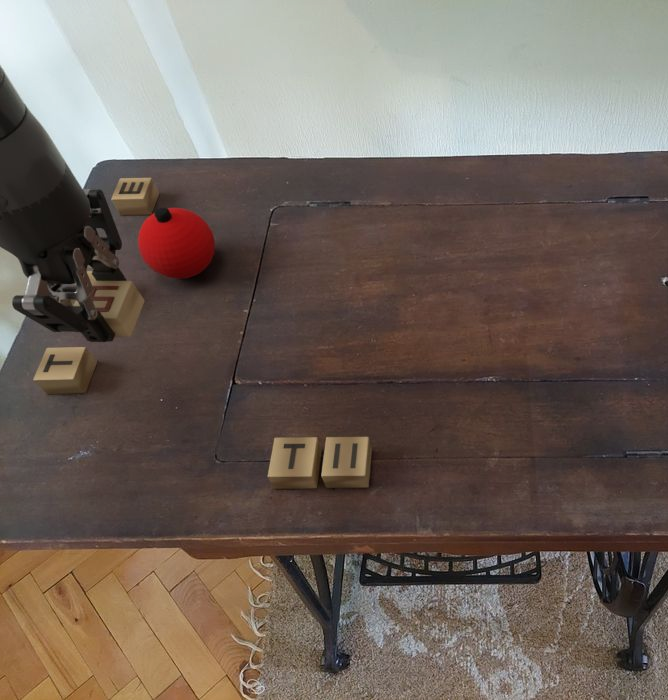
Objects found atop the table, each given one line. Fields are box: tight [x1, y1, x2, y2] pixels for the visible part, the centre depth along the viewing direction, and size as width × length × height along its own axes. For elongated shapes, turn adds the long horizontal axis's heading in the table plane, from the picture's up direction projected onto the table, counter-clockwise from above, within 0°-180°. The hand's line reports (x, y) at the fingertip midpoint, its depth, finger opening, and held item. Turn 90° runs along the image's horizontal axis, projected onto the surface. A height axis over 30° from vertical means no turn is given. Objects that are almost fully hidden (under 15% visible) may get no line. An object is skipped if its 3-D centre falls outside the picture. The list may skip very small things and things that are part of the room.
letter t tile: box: [32, 346, 98, 395], centre depth 75 cm, size 4×4×3 cm
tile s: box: [73, 280, 145, 339], centre depth 61 cm, size 4×4×3 cm
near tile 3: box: [321, 436, 373, 489], centre depth 69 cm, size 4×4×3 cm
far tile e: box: [110, 177, 160, 216], centre depth 93 cm, size 4×4×3 cm
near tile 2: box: [267, 436, 323, 490], centre depth 68 cm, size 4×4×3 cm
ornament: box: [137, 207, 216, 280], centre depth 83 cm, size 9×9×10 cm
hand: (112, 316), depth 62 cm, fingers closed on tile s, 4 cm apart
